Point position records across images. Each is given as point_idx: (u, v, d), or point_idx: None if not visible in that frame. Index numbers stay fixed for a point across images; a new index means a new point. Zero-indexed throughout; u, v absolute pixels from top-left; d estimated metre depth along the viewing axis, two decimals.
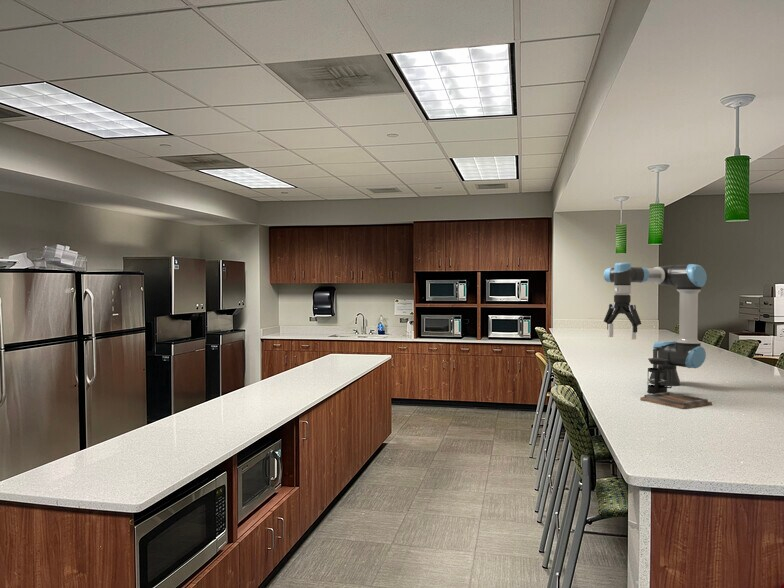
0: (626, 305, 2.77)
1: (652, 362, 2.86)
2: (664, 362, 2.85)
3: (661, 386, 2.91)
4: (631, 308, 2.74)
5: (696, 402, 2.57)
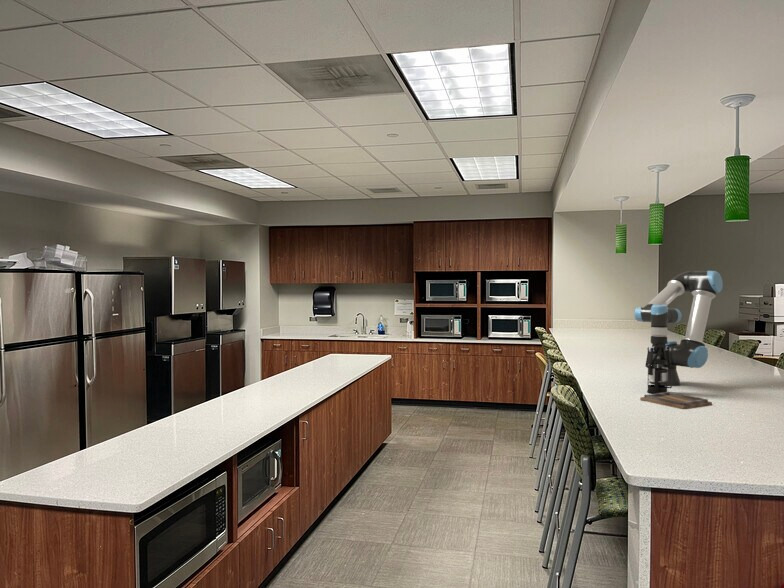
0: None
1: None
2: (664, 362, 2.85)
3: (661, 386, 2.91)
4: None
5: (696, 402, 2.57)
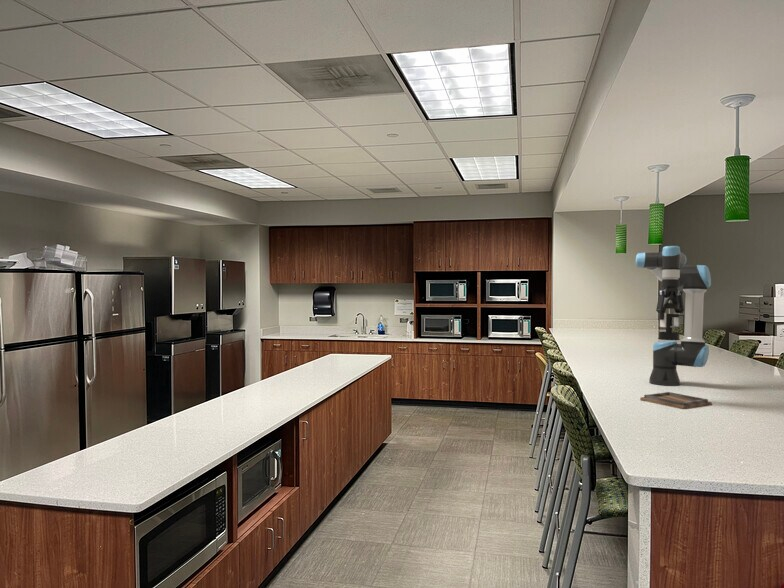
0: None
1: None
2: (676, 306, 2.69)
3: (673, 333, 2.75)
4: None
5: (696, 402, 2.57)
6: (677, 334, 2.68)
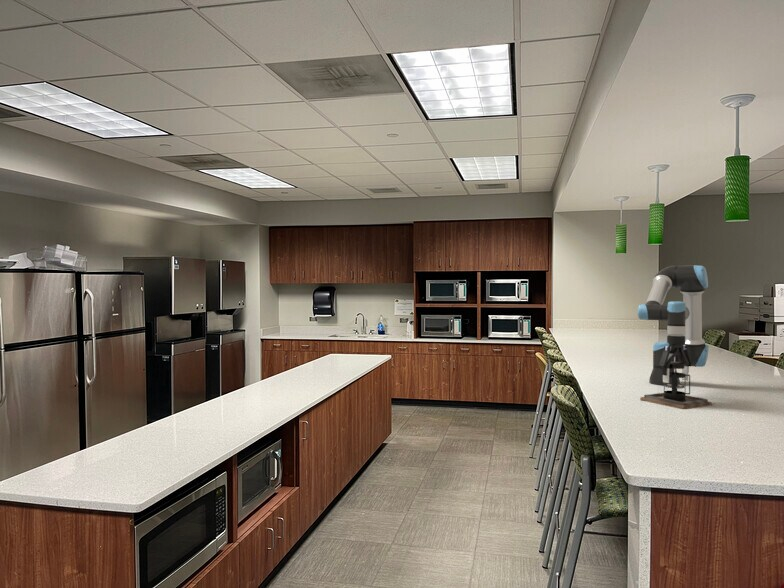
0: None
1: (669, 366, 2.64)
2: (682, 366, 2.62)
3: (679, 392, 2.68)
4: None
5: (696, 402, 2.57)
6: (683, 395, 2.62)
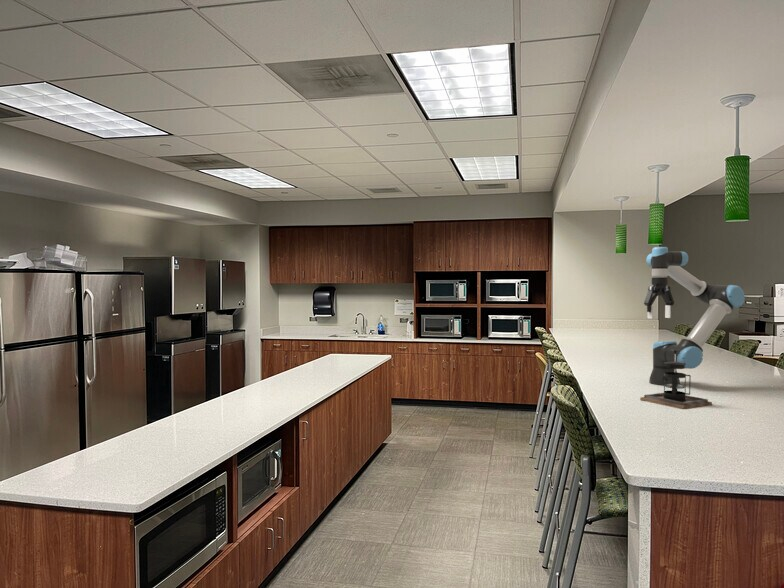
0: None
1: (669, 366, 2.63)
2: (682, 366, 2.62)
3: (679, 392, 2.68)
4: None
5: (696, 402, 2.57)
6: (683, 395, 2.62)
